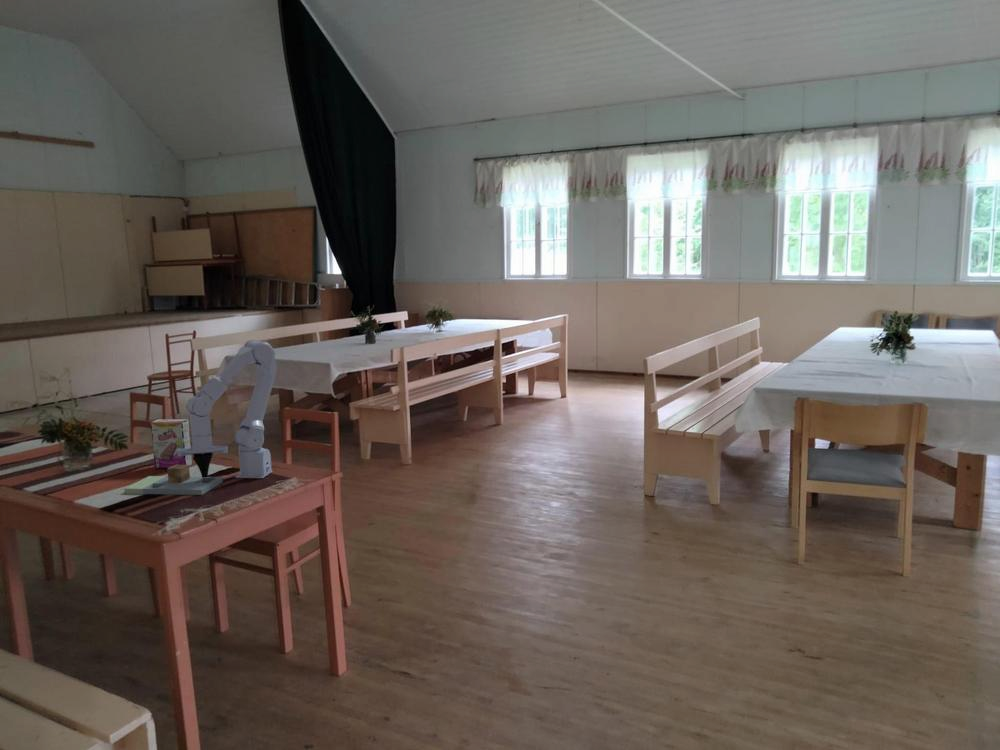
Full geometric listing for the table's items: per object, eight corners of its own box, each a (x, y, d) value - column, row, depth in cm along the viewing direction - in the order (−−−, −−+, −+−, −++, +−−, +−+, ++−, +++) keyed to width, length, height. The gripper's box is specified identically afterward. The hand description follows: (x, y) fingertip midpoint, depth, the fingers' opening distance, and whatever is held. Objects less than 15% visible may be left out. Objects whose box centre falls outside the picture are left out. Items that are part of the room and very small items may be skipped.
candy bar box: (154, 469, 253) (149, 422, 250) (161, 465, 258) (156, 419, 255) (186, 469, 253) (182, 421, 250) (193, 464, 258) (188, 418, 255)
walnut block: (190, 478, 235) (188, 464, 235) (181, 482, 231) (180, 468, 230) (177, 478, 236) (175, 464, 235) (168, 482, 232) (167, 468, 231)
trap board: (222, 482, 236) (222, 477, 236) (202, 494, 224) (201, 489, 223) (149, 480, 239) (148, 476, 239) (124, 493, 227) (124, 488, 226)
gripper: (227, 430, 237) (231, 471, 239) (179, 433, 234) (183, 474, 236) (224, 435, 230) (227, 477, 232) (174, 438, 227) (178, 481, 229)
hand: (205, 476), depth 233 cm, fingers closed
